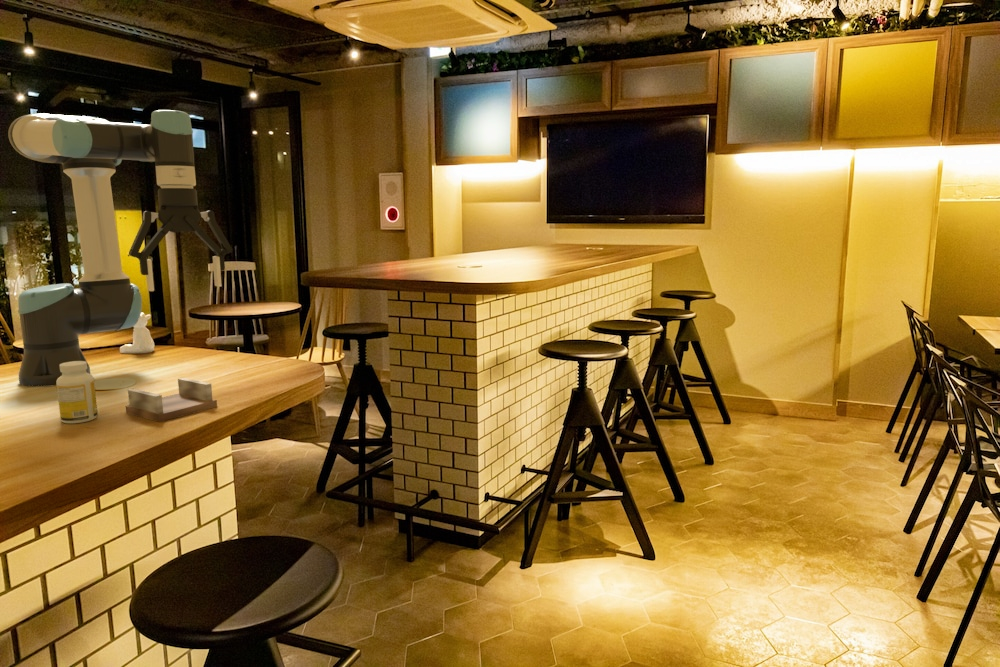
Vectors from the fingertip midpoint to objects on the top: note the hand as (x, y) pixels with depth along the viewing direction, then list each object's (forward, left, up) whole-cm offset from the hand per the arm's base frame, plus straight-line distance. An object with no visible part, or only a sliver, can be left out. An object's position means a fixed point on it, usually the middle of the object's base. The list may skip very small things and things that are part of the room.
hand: (185, 288), depth 153 cm
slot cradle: (+3, -8, -25) cm, 26 cm away
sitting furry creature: (-63, +25, -25) cm, 73 cm away
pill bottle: (-6, -22, -25) cm, 33 cm away
